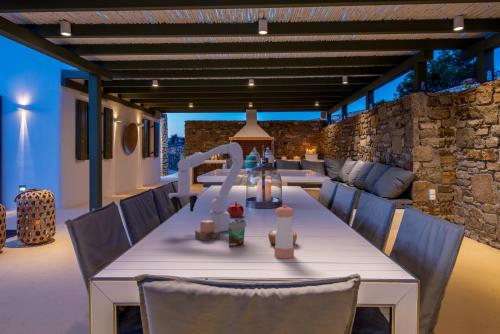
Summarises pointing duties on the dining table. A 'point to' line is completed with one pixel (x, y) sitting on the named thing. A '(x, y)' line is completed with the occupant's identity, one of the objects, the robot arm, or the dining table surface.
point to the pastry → (273, 234)
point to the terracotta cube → (207, 226)
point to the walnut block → (207, 235)
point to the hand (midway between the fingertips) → (184, 211)
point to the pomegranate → (235, 210)
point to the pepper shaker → (284, 233)
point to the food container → (236, 233)
